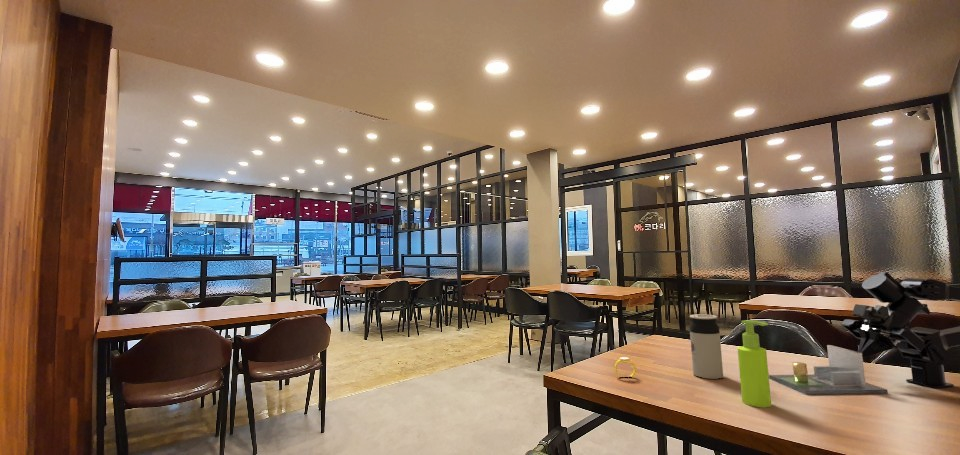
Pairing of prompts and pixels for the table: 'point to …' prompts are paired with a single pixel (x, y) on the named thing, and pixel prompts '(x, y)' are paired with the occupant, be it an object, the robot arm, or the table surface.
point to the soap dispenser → (753, 368)
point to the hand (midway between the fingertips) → (859, 356)
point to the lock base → (821, 383)
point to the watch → (625, 360)
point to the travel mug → (706, 346)
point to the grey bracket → (842, 367)
